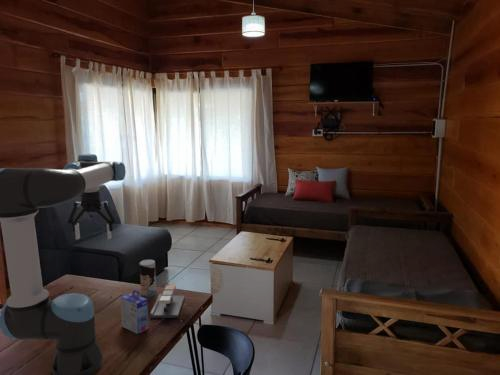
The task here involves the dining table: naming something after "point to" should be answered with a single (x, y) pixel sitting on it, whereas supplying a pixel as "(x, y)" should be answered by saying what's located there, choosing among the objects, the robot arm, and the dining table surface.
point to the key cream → (165, 300)
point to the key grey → (168, 293)
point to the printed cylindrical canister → (148, 278)
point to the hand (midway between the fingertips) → (93, 238)
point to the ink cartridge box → (134, 312)
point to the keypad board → (167, 308)
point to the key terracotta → (170, 287)
